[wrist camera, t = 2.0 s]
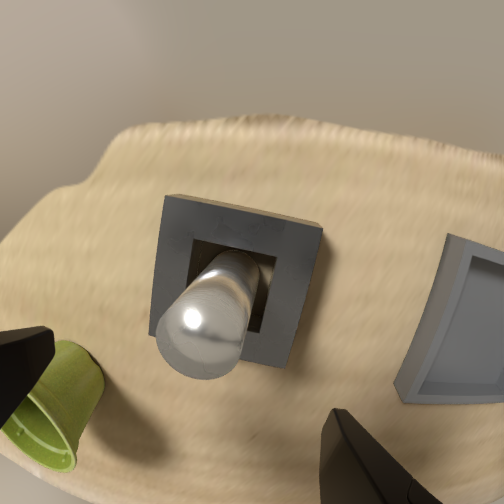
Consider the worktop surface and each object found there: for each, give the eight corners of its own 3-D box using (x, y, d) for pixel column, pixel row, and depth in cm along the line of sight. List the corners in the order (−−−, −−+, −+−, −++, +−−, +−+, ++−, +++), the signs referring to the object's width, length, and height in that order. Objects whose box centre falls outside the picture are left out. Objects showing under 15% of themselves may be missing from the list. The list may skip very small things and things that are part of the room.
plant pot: (119, 338, 22) (56, 403, 13) (127, 424, 24) (86, 489, 15) (33, 309, 22) (-35, 349, 14) (48, 391, 24) (0, 439, 16)
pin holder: (317, 222, 18) (323, 228, 16) (284, 348, 20) (284, 368, 18) (179, 193, 19) (165, 195, 16) (162, 319, 21) (148, 334, 18)
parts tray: (542, 266, 17) (560, 274, 15) (493, 387, 20) (505, 402, 17) (447, 233, 18) (466, 239, 15) (393, 383, 20) (402, 402, 18)
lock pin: (264, 256, 19) (249, 314, 10) (253, 304, 20) (232, 388, 11) (213, 245, 19) (159, 292, 11) (205, 292, 20) (153, 366, 11)
